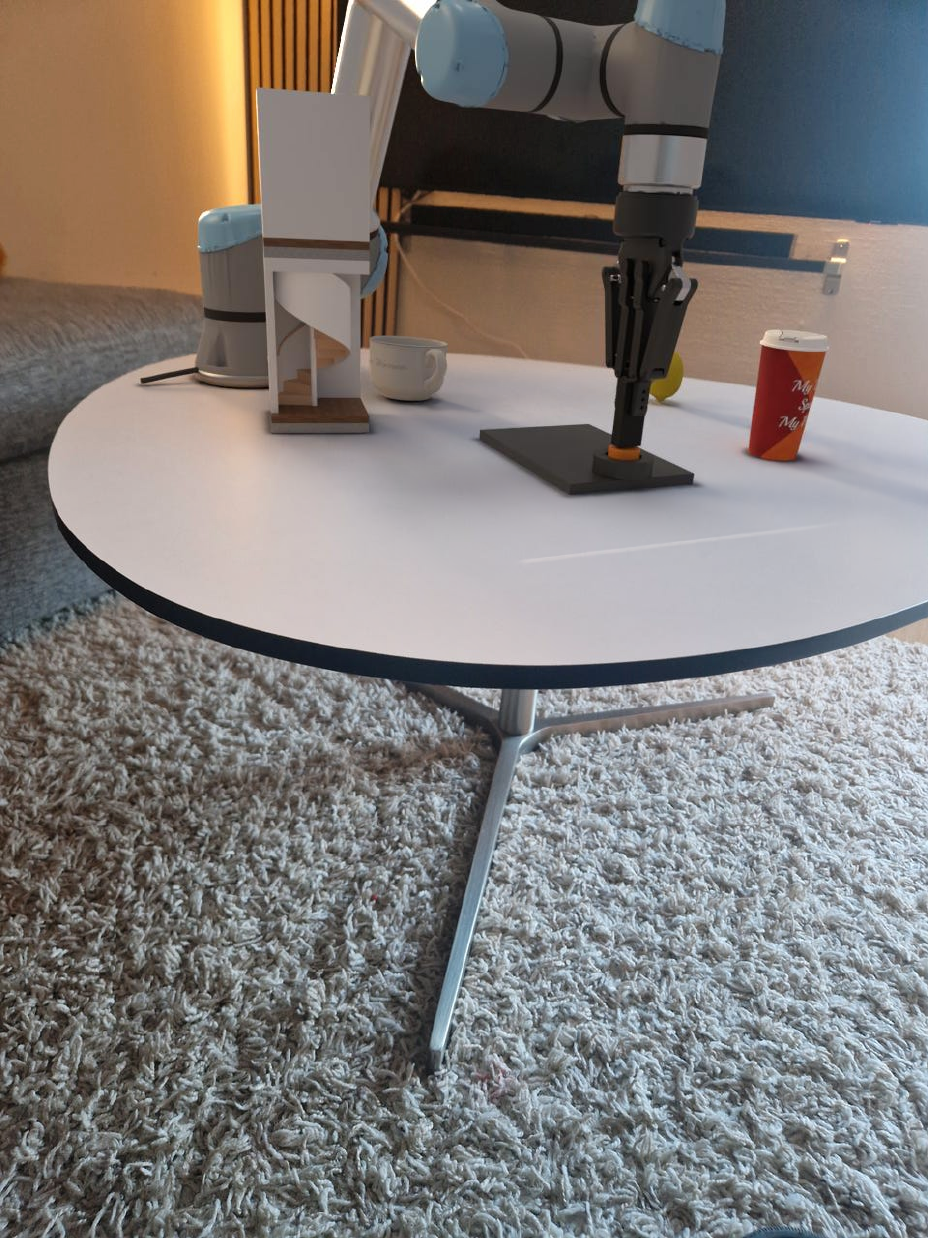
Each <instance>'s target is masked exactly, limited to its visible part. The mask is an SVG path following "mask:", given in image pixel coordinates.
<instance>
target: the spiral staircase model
mask: <svg viewBox="0 0 928 1238" xmlns="http://www.w3.org/2000/svg"><path fill="white" fill-rule="evenodd" d="M255 101H256V125H257V147H258V167H259V168H258V169H259V171H258V172H259V184H260V185H259V189H260V191H259V193H260V204H261V215H262V238H263V260H264V282H265V305H266V327H267V349H268V372H269V387H268V391H269V393H268V394H269V412H270V428H271V434H352V433H353V434H365V433H370V414H369V413H368V410H367V409H366V406H365V404H364V402H363V400H362V398H361V299H360V274H367V275H370V96H364V95H351V94H337V93H332V92H322V91H310V90H297V89H282V88H271V87H269V88H268V87H256V89H255Z"/></svg>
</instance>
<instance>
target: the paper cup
mask: <svg viewBox="0 0 928 1238" xmlns="http://www.w3.org/2000/svg"><path fill="white" fill-rule="evenodd" d="M828 344H829V338H828V336H827V335H825V334H821V333H817V332H812V331H802V330H793V329H767V330H766V331H765V332H764V335H763V338H762V339H761V340H760V341H759V345H761V348H760V349H761V350H760V357H759V363H758V370H757V371H758V372H757V379H756V386H755V394H754V403H753V410H752V418H751V425H750V431H749V441H748V453H749V454H750V455H751V456H754V457H756V458H759V459H763V460H769V461H777V462H778V461H780V462H788V461H794V460H795V459H796V458H797V456H798V453H799V449H800V446H801V443H802V439H803V436H804V432H805V429H806V426H807V421H808V419H809V415H810V412H811V408H812V404H813V400H814V397H815V394H816V390H817V387H818V386H817V385H818V383H819V378H820V375H821V372H822V368H823V364H824V361H825V358H826V353H827V352H829V351H830V350H831V349H830V346H829V345H828Z"/></svg>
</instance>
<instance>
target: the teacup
mask: <svg viewBox="0 0 928 1238" xmlns="http://www.w3.org/2000/svg"><path fill="white" fill-rule="evenodd" d="M368 341H369V355H368V357H369V359H368V362H369V363H368V370H369V379H370V382H371V384H372V386H373V387H374V388H375V389H377V391H378V392H379V393H380V395H382V396H383V397H385V398H388V399H393V400H398V401H399V400H400V401H411V402H412V401H413V402H414V401H427V400H429V399H431V398H432V396H433V395H435V394H436V393H438V392H439V390H441V388H442V386H443V384H444V381H445V380H444V379H445V376H446V373H447V368H448V361H447V352H448V351H447V350H448V348H449V344H448V343H447V342H444V341H441V340H438V339H431V338H423V337H418V336H417V337H416V336H406V335H405V336H404V335H402V336H401V335H374V336H370V337H369V338H368Z"/></svg>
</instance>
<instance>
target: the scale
mask: <svg viewBox="0 0 928 1238" xmlns="http://www.w3.org/2000/svg"><path fill="white" fill-rule="evenodd" d="M611 437H612V433H609V432H607V431H605V430H602V429H601V428H598V427H597V426H594V425H592V424H590V423H579V424H577V423H576V424H575V423H574V424H558V425H542V426H540V425H539V426H524V427H507V428H506V427H505V428H504V427H503V428H487V429H479V439H478V440H480V441H482V442H483V443H485V444H486V445H488V446H490V447H491V448H492V449H495V450H496V451H498V452H499V453H501V454H502V455H504V456H506V457H507V458H509V459H511V460H512V461H514V462H516V463H517V464H519V465H520V466H522V467H524V468H525V469H527V470H528V471H530V472H532V473H533V474H535V475H536V476H538V477H540V478H541V479H543V480H544V481H546V482H547V483H550V484H551V485H553V486H554V487H556V488H557V489H559V490H561V491H562V492H563V493H565V494H567V495H569V496H574V495H584V494H596V493H607V492H619V491H629V490H640V489H652V488H662V487H663V488H664V487H676V486H685V485H693V484H694V479H695V473H694V472H693V471H692V472H691V471H690V470H688V469H686V468H684V467H681V466H679V465H677V464H675V463H673V462H671V461H668V460H666V459H665V458H662V457H660V456H658V455H656V454H654V453H651V452H650V451H647V450H645V449H643V448H641V447H639V448H640V455H639V459H638V460H620V459H615V458H611V457H609V456H608V451H609V445H611Z"/></svg>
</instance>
